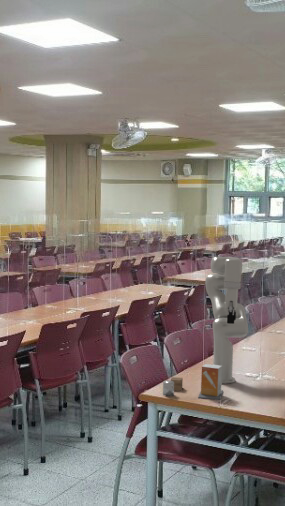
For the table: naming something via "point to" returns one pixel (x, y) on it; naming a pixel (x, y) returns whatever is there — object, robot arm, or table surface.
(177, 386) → the walnut block
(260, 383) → the table surface
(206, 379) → the small box
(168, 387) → the grey metal cylinder
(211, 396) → the slate mat
